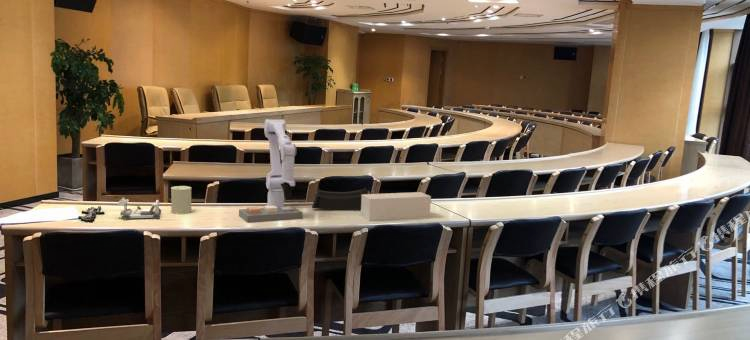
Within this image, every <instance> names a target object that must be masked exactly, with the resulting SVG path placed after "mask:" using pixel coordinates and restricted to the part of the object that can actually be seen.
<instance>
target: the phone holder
mask: <svg viewBox="0 0 750 340" xmlns="http://www.w3.org/2000/svg"><path fill="white" fill-rule="evenodd" d="M117 200H118V202H117V203H116V204H117V205H119V206H123V208H124V209H123V210H121V211H120V216H122V220H123V221H130V220H131V219H153V220H154V219H156V220H160V218H161V213H162V209H160V204H159V203H160V201H159V199H156V200H155V202H153V203H152V205H151V207H150V208H145V209H143V208H141V207H140V205H137V206H136V207H137V208H136V209H135V210H132V209H131V208H127V207H128V203H130V202H129V199H125V197H122V198H121V199H120V198H119V197H117Z"/></svg>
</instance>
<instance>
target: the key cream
mask: <svg viewBox="0 0 750 340" xmlns="http://www.w3.org/2000/svg"><path fill="white" fill-rule="evenodd" d="M263 208H264V211H265V212H266V213H268V212H278V208H277V207H276V206H266V205H265V206H263Z"/></svg>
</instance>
